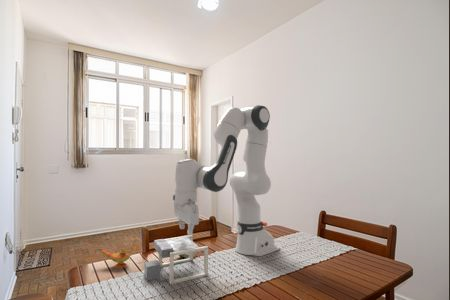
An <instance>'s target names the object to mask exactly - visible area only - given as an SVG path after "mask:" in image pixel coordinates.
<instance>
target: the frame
mask: <svg viewBox="0 0 450 300" xmlns="http://www.w3.org/2000/svg"><path fill="white" fill-rule="evenodd" d="M184 237H188V238H189V239H190V240H191V241H193V240H194V236H193V234H192V235H188V234H187V235H183V236H177V237H176V236H175V237H170V238H169V237H168V238H163V239H164V240H171V239H178V238H184ZM193 242H194V241H193ZM201 251H203V272H202V273H198V274H197V273H196V274H193V275H188V276H185V277H184V276H183V277H180V278H176V279H174V278H175V275H174V274H175V273H174V272H175V271H174V269H175V268H174V266H175V265H177V264H181V263H186V262H191V261H193V259H194V258H193V252H195V253H197V252H201ZM187 253H189V258H184V259H178V260H175V257H176V256H179V255H182V254H187ZM158 262H159V263H160V268H162V267H167V266H169V284H170V285H173V284H178V283H182V282H186V281H190V280H193V279H194V280H195V279H200V278H202V277H206V276H207V277H208V276H209V246H207V245H204V246H199V247H198V248H193V249H187V250H182V251H176V252H171V253H170V257H169V262H163V258H161V256H160V255H159V254H158Z"/></svg>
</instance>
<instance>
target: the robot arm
mask: <svg viewBox="0 0 450 300" xmlns="http://www.w3.org/2000/svg"><path fill="white" fill-rule="evenodd" d="M270 120H271V115H270V111H269V109H268V108H267V107H266V106H265V105H259V104H258V105H250V106H245V107H243V108H238V107H235V106H234V107H230V108H228V109H227V110H226V111H225V112H224V114H223V115H222V116H221V118H220V119H219V121H218V123H217V125H216V127H215V130H214V133H213V136H214V137H213V138H214V139H215V141H216V143H218V144H219V145H220V147H221V148H220V152H219V154H218V157H217V159H216V161H215V163H214V164H213V165H211V166H206V165H203V164H201V163H199V162H198V161H197V160H196V159H194V158H185V159H180V160H179V161H178V162H177V163H176V167H175V175H174V176H175V177H174V178H175V179H174V180H175V181H174V182H175V191H174V194H173V195H172V200H173V209H174V210H173V211H174V216H175V217H176V218H177V219H178V224H179V229H180V230H184V229H185V227H186V225H185V223H186V224H187V233H186V234H187V236H188V235H193V234H194V228H195V226H198V225H199V223H200V214H199V207H198V205H197V204H196V203H197V201H198V200H197V198H198V197H197V196H198V192H197V191H198V188H199V189H203V190H208V191H210V192H214V193H217V192H218V193H219V192H220V191H222V190H223V189H224V188H225V187H226V186H227V183H228V180H229V185H230V188H231V189H232V190H233V191H234V195H235V199H236V202H237V218H238V219H237V220H238V221H237V226H236V227H237V237H236V238H237V239H236V245H235V248H234V250H235V252H237V253H239V254H241V255H245V256H256V257H262V256H265V255H268V254H270V253H273V252H276V251H279V250H280V246H279V245H278V244H276V243H275V238H274V236H273V235H272V234H271V233H270V232H269V231H267V230H266V229H265V228H264V227H266V228H267V227H268V223H267V222H265V221H261V205H260V203H259V202H258V201H257V199H256V196H261V195H262V196H263V195H266V194H268V193H269V192H270V189H271V186H272V184H271V183H272V181H271V178H270V177H269V176H268V174H267V172H266V164H265V162H266V155H267V148H268V142H269V141H268V139H269V130H268V126H269V123H270ZM242 130H247V137H246V139H245V140H246V141H245V146H244V150H243V156H242V159H243V161H244V162H245V165H246V171H242V170H241V171H237V172H234V173H232V174H231V176H230V177H229V172H230V168H231V165H232V163H233V159H234V157H235V154H236V151H237V148H238V138H239V135H240V133H241V131H242Z"/></svg>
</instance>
